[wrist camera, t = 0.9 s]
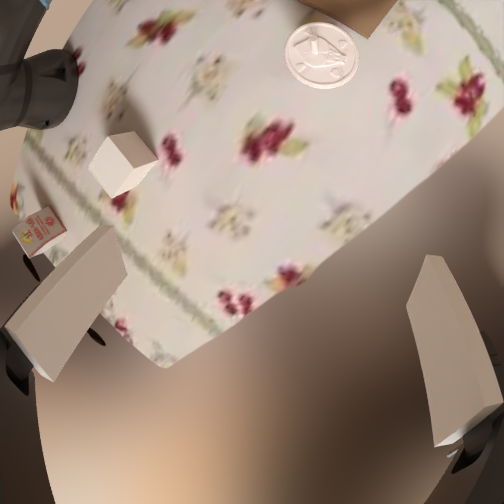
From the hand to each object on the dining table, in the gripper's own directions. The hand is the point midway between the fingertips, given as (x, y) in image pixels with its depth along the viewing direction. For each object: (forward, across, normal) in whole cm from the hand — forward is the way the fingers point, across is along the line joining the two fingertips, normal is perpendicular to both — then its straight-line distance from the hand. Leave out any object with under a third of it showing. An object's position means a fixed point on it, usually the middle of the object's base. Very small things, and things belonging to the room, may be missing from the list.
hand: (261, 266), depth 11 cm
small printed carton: (+26, -45, -15) cm, 55 cm away
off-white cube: (+26, -22, -3) cm, 35 cm away
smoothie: (+26, +3, +9) cm, 28 cm away
